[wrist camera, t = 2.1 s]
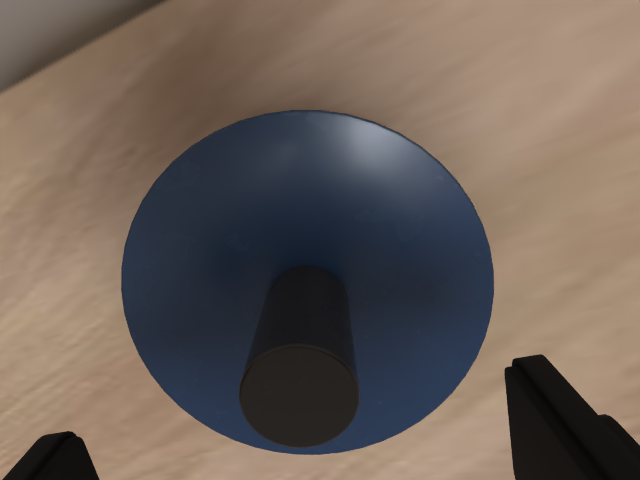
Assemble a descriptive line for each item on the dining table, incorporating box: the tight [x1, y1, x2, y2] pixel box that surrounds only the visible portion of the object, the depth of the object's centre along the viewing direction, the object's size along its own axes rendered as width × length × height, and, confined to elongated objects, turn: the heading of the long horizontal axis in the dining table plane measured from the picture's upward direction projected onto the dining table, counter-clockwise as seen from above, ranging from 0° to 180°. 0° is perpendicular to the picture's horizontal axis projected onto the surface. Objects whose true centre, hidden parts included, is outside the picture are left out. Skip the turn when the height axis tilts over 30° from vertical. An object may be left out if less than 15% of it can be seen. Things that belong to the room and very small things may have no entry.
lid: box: [121, 110, 494, 455], centre depth 14 cm, size 14×14×7 cm
